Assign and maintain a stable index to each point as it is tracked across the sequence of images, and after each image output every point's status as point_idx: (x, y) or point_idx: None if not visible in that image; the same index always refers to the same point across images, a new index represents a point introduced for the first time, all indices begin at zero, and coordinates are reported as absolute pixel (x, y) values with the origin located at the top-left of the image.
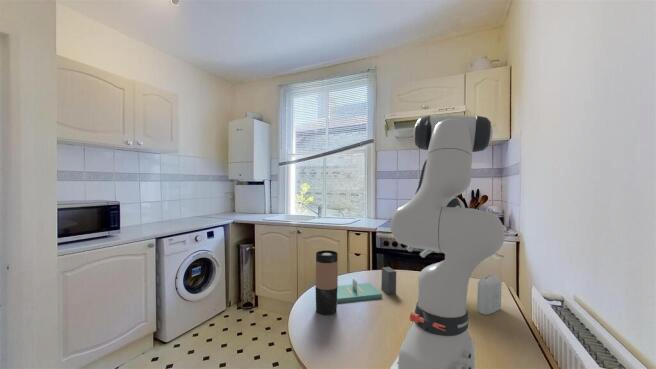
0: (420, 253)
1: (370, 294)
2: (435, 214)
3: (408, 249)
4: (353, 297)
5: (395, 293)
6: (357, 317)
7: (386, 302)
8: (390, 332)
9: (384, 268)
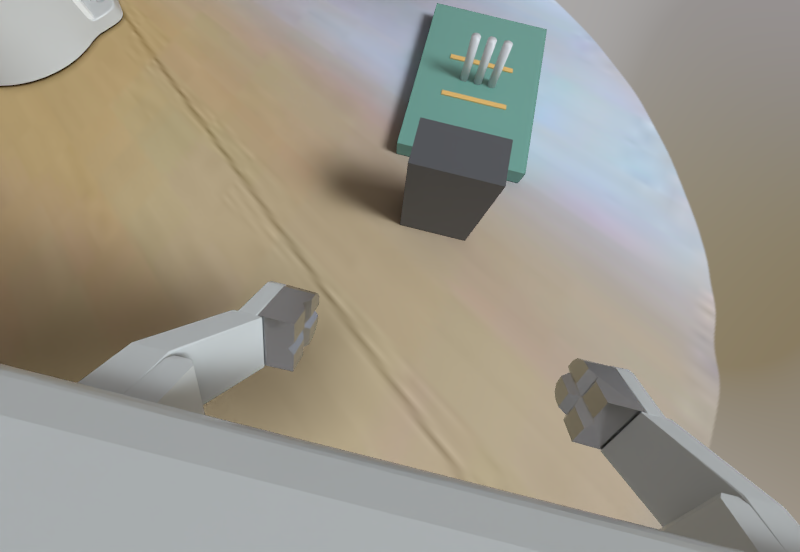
0: (299, 294)
1: (415, 104)
2: None
3: (586, 361)
4: (424, 48)
5: (401, 222)
6: (321, 13)
7: (355, 141)
8: (200, 31)
9: (489, 141)
